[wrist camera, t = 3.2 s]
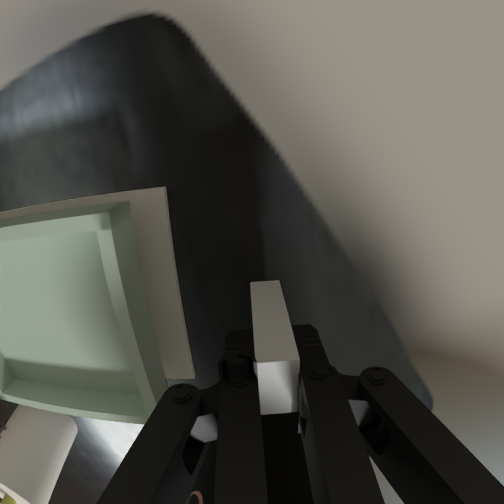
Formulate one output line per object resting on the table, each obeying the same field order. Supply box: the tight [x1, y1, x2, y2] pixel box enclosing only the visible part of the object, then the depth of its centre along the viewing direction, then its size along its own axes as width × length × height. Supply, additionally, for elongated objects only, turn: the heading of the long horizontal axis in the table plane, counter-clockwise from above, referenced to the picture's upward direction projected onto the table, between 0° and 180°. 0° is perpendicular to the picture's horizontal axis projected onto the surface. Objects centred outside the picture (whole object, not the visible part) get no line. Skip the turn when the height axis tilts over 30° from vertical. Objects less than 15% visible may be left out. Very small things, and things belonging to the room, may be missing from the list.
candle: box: [0, 404, 78, 504], centre depth 16 cm, size 6×6×15 cm
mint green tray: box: [0, 201, 169, 424], centre depth 16 cm, size 13×12×4 cm
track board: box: [0, 186, 195, 379], centre depth 18 cm, size 26×13×1 cm, turn 93°
